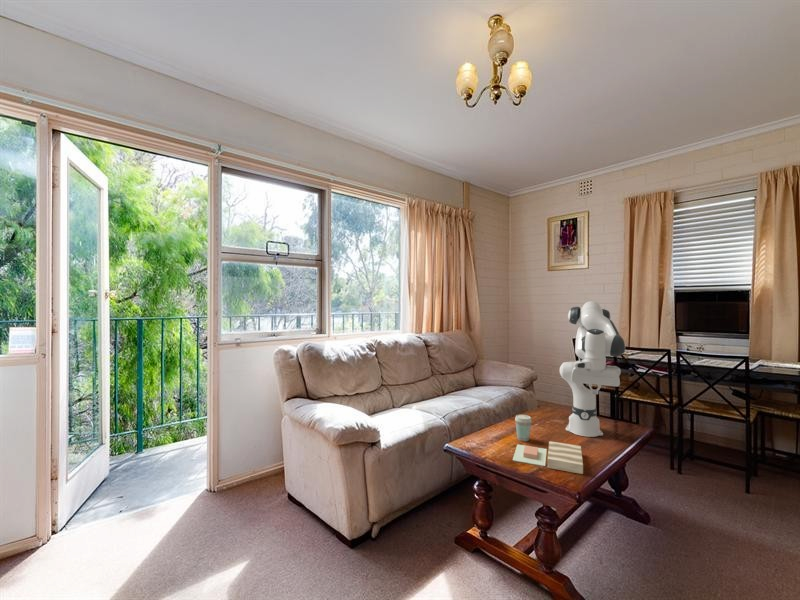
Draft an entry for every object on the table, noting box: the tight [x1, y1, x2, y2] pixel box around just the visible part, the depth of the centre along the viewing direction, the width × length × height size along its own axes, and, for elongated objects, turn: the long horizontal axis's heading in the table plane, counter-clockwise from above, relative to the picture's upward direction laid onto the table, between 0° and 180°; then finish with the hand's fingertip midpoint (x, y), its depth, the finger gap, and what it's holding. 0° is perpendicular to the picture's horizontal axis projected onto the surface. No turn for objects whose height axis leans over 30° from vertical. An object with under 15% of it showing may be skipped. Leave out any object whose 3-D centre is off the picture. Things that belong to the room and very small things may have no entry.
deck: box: [547, 441, 584, 475], centre depth 170 cm, size 22×14×4 cm, turn 156°
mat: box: [511, 443, 548, 467], centre depth 176 cm, size 20×14×1 cm
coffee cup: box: [514, 414, 533, 442], centre depth 195 cm, size 8×9×12 cm
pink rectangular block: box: [523, 445, 539, 459], centre depth 176 cm, size 9×6×2 cm, turn 156°
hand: (594, 393), depth 173 cm, fingers closed
